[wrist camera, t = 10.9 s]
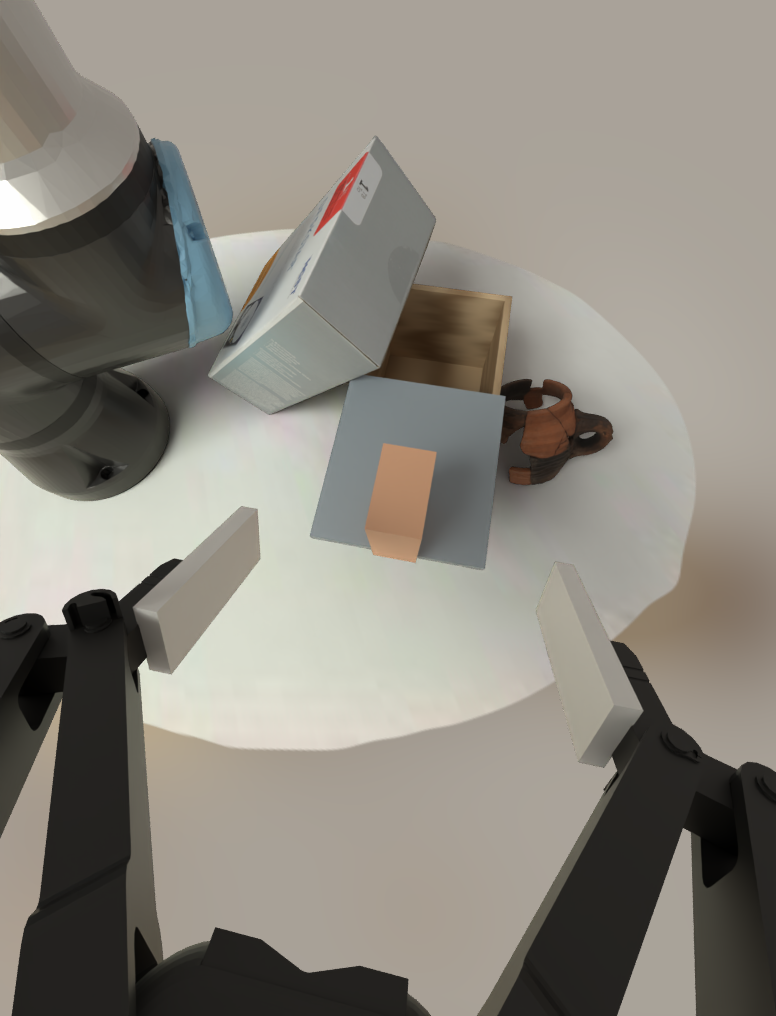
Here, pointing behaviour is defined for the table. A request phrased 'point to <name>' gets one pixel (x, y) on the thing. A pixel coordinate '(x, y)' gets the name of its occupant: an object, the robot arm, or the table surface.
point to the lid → (412, 472)
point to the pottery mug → (549, 430)
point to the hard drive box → (330, 289)
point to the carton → (449, 340)
